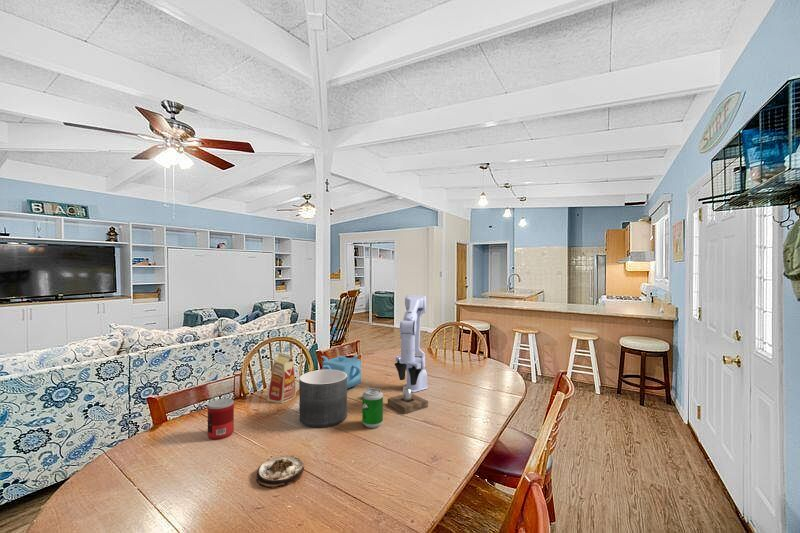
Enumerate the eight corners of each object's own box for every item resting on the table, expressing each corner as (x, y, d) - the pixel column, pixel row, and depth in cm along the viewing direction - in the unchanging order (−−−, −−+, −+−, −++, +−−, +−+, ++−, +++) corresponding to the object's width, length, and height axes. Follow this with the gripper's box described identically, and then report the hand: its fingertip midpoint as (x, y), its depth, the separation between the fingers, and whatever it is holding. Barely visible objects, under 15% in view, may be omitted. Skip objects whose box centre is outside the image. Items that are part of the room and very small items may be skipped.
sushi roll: (249, 498, 88) (250, 481, 88) (253, 466, 102) (253, 451, 102) (310, 486, 93) (310, 470, 93) (306, 457, 107) (306, 443, 107)
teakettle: (363, 392, 161) (363, 360, 161) (321, 395, 157) (321, 362, 157) (358, 379, 179) (358, 350, 179) (320, 381, 175) (321, 352, 175)
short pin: (371, 396, 156) (371, 387, 156) (376, 398, 154) (376, 389, 154) (365, 398, 154) (365, 388, 154) (369, 400, 152) (369, 391, 152)
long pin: (408, 403, 148) (408, 387, 148) (412, 406, 145) (412, 389, 145) (401, 405, 146) (401, 388, 146) (406, 408, 143) (406, 391, 143)
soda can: (384, 420, 132) (384, 388, 132) (381, 429, 124) (381, 395, 124) (364, 419, 133) (364, 387, 133) (360, 428, 125) (360, 394, 125)
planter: (290, 417, 134) (290, 376, 134) (328, 404, 147) (329, 366, 147) (316, 433, 122) (317, 387, 122) (356, 417, 135) (356, 376, 135)
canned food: (238, 431, 123) (238, 399, 123) (220, 442, 115) (220, 408, 115) (221, 427, 125) (221, 397, 125) (202, 438, 118) (202, 405, 118)
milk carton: (267, 400, 150) (267, 354, 150) (282, 393, 159) (282, 349, 159) (284, 404, 147) (284, 356, 147) (298, 396, 155) (298, 351, 155)
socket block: (409, 398, 154) (409, 392, 154) (428, 406, 145) (428, 400, 145) (387, 404, 147) (387, 398, 147) (405, 414, 138) (405, 407, 138)
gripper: (390, 347, 149) (389, 379, 149) (411, 354, 138) (411, 389, 138) (403, 345, 154) (403, 376, 154) (425, 351, 142) (424, 385, 142)
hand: (407, 382), depth 146 cm, fingers open, 7 cm apart
